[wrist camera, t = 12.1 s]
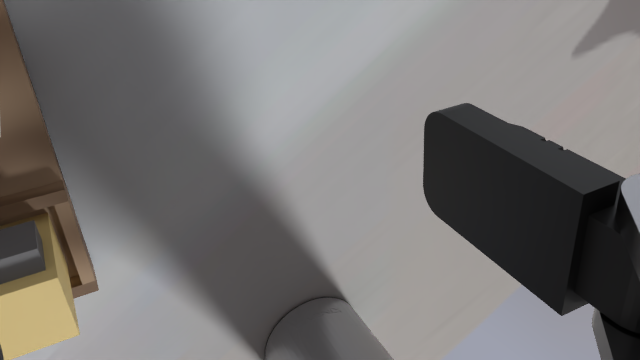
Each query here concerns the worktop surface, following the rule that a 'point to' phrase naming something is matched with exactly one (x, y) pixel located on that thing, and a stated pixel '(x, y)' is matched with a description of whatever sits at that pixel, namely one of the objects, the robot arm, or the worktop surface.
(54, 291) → the yellow and grey box
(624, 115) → the worktop surface
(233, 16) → the worktop surface
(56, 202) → the rail
